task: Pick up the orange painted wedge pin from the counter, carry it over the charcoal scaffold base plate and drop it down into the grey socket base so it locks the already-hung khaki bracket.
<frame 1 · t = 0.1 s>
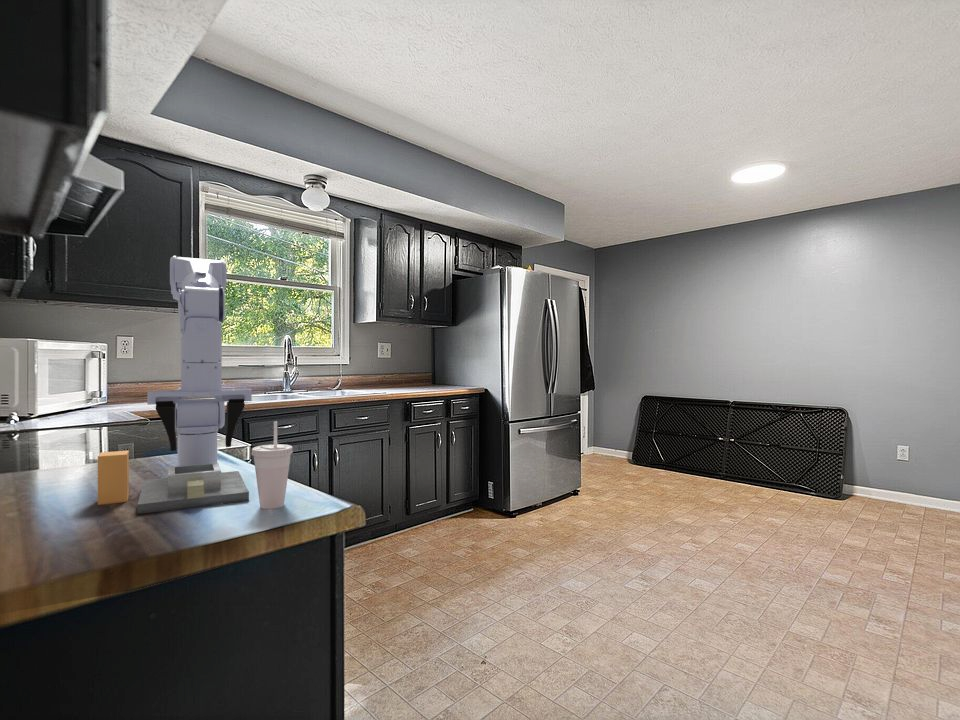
hand: (201, 447, 84), 10 cm above the table, fingers open, 7 cm apart
wedge pin: (113, 500, 90), on the table
smoothie: (272, 506, 87), on the table
grey socket base: (194, 494, 94), on the table
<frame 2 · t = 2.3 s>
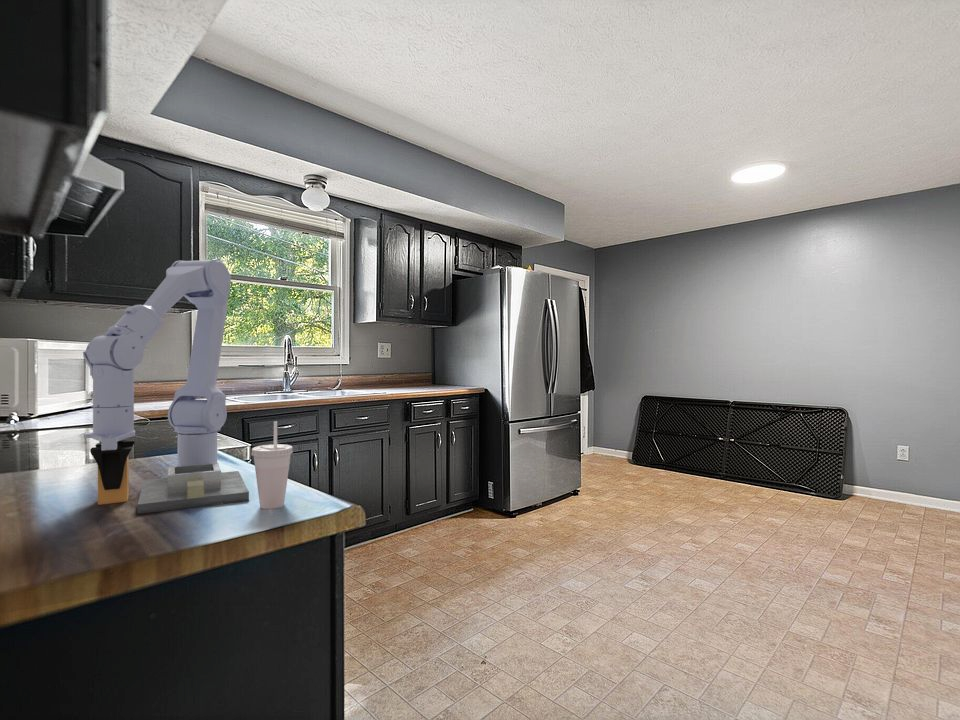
hand: (113, 485, 90), 2 cm above the table, fingers closed on wedge pin, 4 cm apart
wedge pin: (113, 500, 90), on the table, touching gripper
everything else where it was.
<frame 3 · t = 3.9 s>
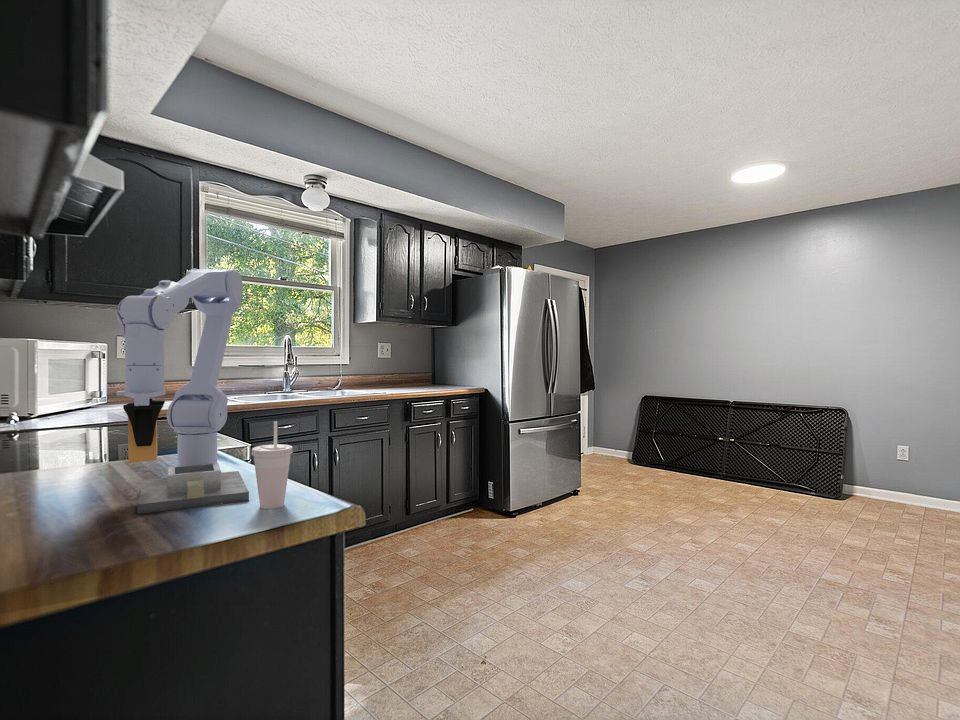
hand: (145, 443, 91), 9 cm above the table, fingers closed on wedge pin, 4 cm apart
wedge pin: (143, 459, 91), point 7 cm above the table, touching gripper
everything else where it was.
when the fingers open (5 cm above the table, at t = 5.7 s): wedge pin drops 1 cm, resting on grey socket base.
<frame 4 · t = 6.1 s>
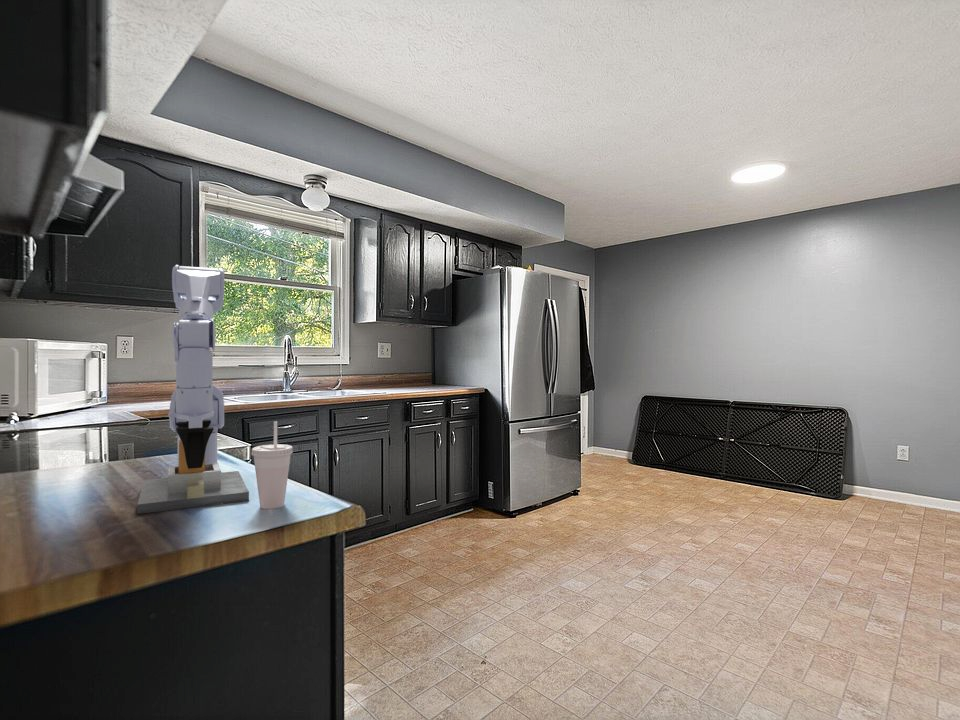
hand: (194, 463, 94), 5 cm above the table, fingers open, 7 cm apart
wedge pin: (191, 485, 94), point 1 cm above the table, touching grey socket base
everything else where it was.
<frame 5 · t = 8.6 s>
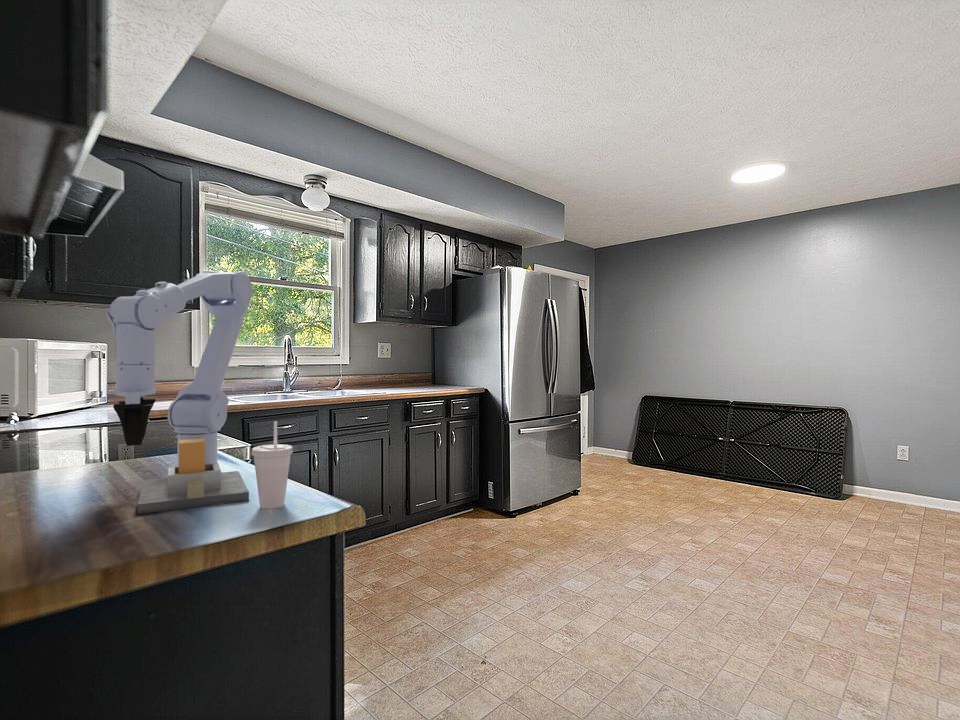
hand: (135, 441, 93), 9 cm above the table, fingers open, 7 cm apart
nothing on the table moved.
at the end: wedge pin 0.4 cm off-centre on the grey socket base, point 1.5 cm above the grey socket base's base; wedge pin tilted 0°; the gripper is holding nothing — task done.
